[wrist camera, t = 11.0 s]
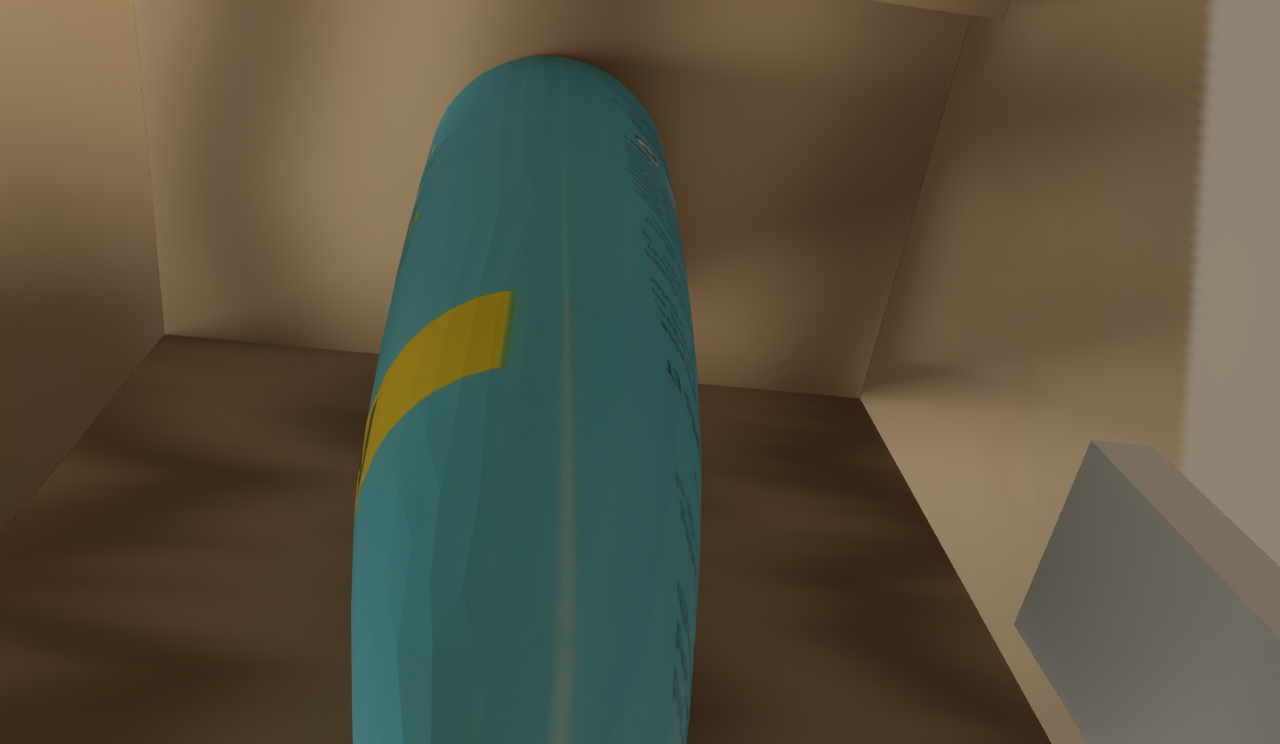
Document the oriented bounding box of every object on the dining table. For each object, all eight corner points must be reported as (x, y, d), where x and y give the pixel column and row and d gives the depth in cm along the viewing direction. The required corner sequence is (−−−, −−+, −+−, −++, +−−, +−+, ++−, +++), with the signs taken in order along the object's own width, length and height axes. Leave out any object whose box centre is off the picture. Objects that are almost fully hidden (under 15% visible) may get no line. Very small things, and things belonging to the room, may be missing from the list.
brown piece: (205, 343, 24) (-161, 857, 12) (167, -181, 19) (-573, -244, 6) (820, 400, 26) (1053, 883, 14) (943, -57, 21) (1494, 74, 9)
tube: (395, 4, 18) (-1437, 1754, 1) (647, -25, 18) (1681, 1284, 2) (466, 349, 22) (177, 2021, 5) (677, 323, 22) (1092, 1868, 5)
